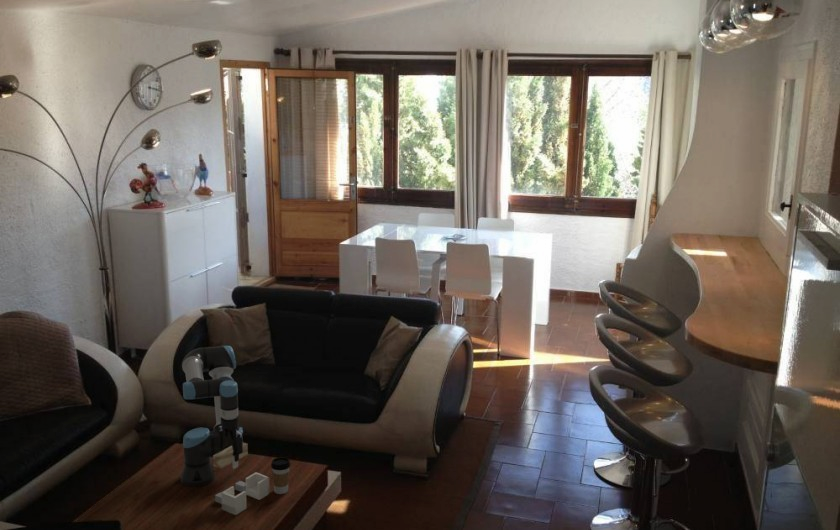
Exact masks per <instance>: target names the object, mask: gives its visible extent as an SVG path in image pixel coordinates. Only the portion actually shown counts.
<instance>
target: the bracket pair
mask: <svg viewBox="0 0 840 530" xmlns="http://www.w3.org/2000/svg"><path fill="white" fill-rule="evenodd" d="M245 483H246V491H243V492H240V493H238V494H236V495H235V485H234V486H232V485H231V486H230V487H229V488H227V489H225V490H224V491H221V497H222V504H221V510H223V511H225V512H227V513H229V514H232V515H234V516H237V515H239V514H240V513H242V512H243V511H244V510H245V511H246V509H247V508H248V507H247V496H248V497H252V498H253V499H256V500H258V501H259V500H262V499H264V498H265V497H267V496H269V495H270V493H271V492H270V491H271V490H270V488H271V487H270V484H271V483H270V476H266V475H264V474H262V473H259V472H253V473H252V474H251V475H248V476H247V477H245Z"/></svg>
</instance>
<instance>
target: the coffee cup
mask: <svg viewBox="0 0 840 530" xmlns="http://www.w3.org/2000/svg"><path fill="white" fill-rule="evenodd" d="M270 467H271V472H272V474H271V475H272V482H273V490H274V493H275V494H277V495H284V494H287V493H288V492H289V481H290V467H291V461H290V458H289V457H285V456H283V457H282V456H281V457H276V458H275V457H274V458H273V459H272V461H271V465H270Z"/></svg>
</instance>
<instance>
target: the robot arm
mask: <svg viewBox="0 0 840 530" xmlns="http://www.w3.org/2000/svg"><path fill="white" fill-rule="evenodd" d="M181 367H182V371H183V372H184V374H185V380H186V382H185V381H184V382H183V383H182V394H183V399H184V400H196V399H198V400H199V399H205V398H214V400H213V401H214V410H215V411H214V412H215V421H216V422H215V423H216V424H215V425H214V426H213V430H211V431H210V429H209V428H208V427H196V428H192V429H191V430H189V431H187V432H186V433H184V435H183V437H182V439H183V440H182V442H183V443H182V447H183V462H184V463H183V468H182V471H181V474H180V482H181V484H183V485H184V486H186V487H193V488H194V487H196V488H197V487H198V488H199V487H203V486H205V485H209V484H210V483H212V482H213V481H214V480H215V479H216V471H215V469H214V465H213V464H212V461H211V458H213V455H215V454H217V453H219V452H221V451H223V450H224V449H226V448H228V447H230V446H232V448H233V453H234V454H233V455H232V463H231V464H232V469H234V470H235V469H237V468H238V467H239V460H240V459H239V454H241V453H243V443H242V442H244V441H243V438H244V437H243V436H244V428H243V427H241V426H240V424H239V423H240V422H239V418H240V417H239V395H238V394H239V388H238V382H236V381H235V380H234V378H233V377H232V374H233V373H234V370H235V369H236V368H237V361H236V355H235V352H234V349H233V347H232V346H230V345H218V346H208V347H198V348H194V349H193V350H191V351H190V352H188V353H187V354H186V355H185V356H184V358H183V360H182V361H181ZM204 372H208V375H209V376H210V377H211V378H212V379H204V374H203V373H204Z"/></svg>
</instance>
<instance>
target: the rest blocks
mask: <svg viewBox="0 0 840 530" xmlns="http://www.w3.org/2000/svg"><path fill="white" fill-rule="evenodd" d="M234 491H238V492H240V493H242V492H243V491H246V481H245V482H244V481H242V480H238V481H237V482H235V483H234ZM221 493H222V491H221V492H219V493H217V494H215V495H214V496H215V497H214V499H215V502H216V503H218V504H220V505H222V497H221Z"/></svg>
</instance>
